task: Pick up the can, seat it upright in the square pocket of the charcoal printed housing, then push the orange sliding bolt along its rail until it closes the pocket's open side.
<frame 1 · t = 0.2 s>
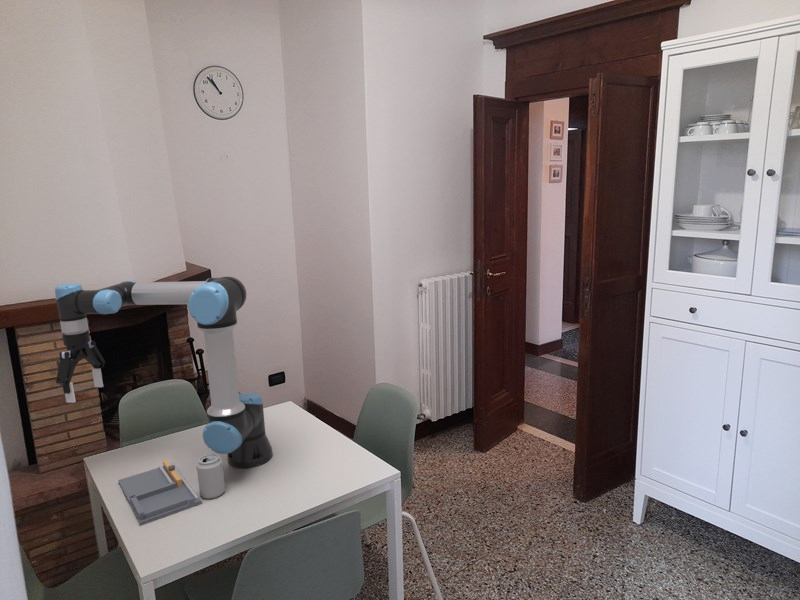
hand: (85, 394, 187), 28 cm above the table, fingers open, 13 cm apart
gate: (172, 471, 185), point 3 cm above the table, slide at 11.0 cm
can: (213, 494, 176), on the table
housing: (162, 504, 171), on the table
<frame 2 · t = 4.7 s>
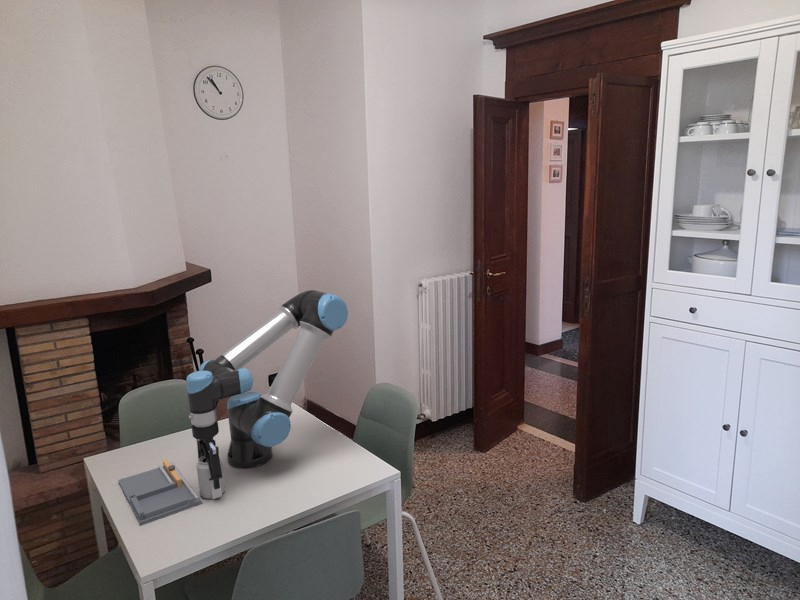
hand: (212, 491, 176), 1 cm above the table, fingers closed on can, 7 cm apart
can: (213, 494, 176), on the table, touching gripper
everything else where it was.
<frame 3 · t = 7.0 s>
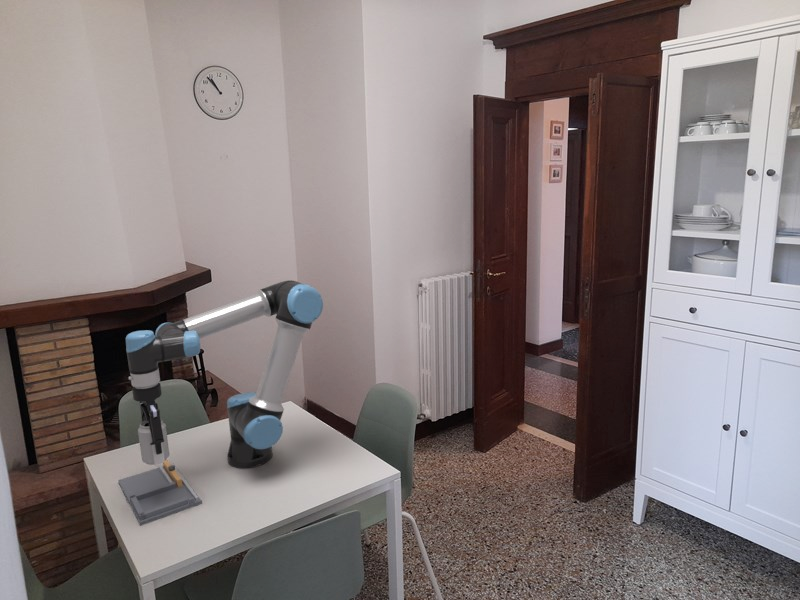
hand: (156, 458, 168), 15 cm above the table, fingers closed on can, 7 cm apart
can: (156, 460, 168), point 14 cm above the table, touching gripper
everything else where it was.
when the fingers open (4 cm above the table, at t = 9.4 s): can drops 2 cm, resting on housing.
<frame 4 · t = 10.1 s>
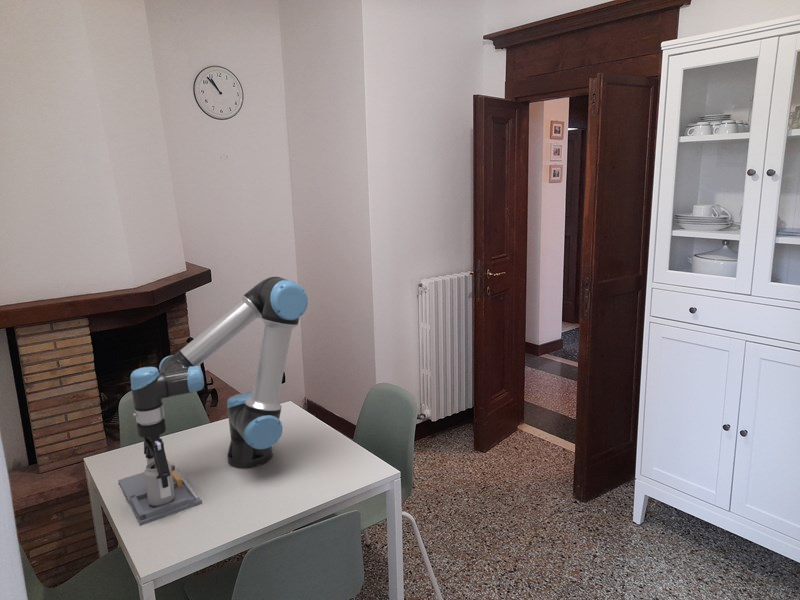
hand: (159, 487, 170), 6 cm above the table, fingers open, 13 cm apart
can: (162, 501, 171), point 1 cm above the table, touching housing
everything else where it was.
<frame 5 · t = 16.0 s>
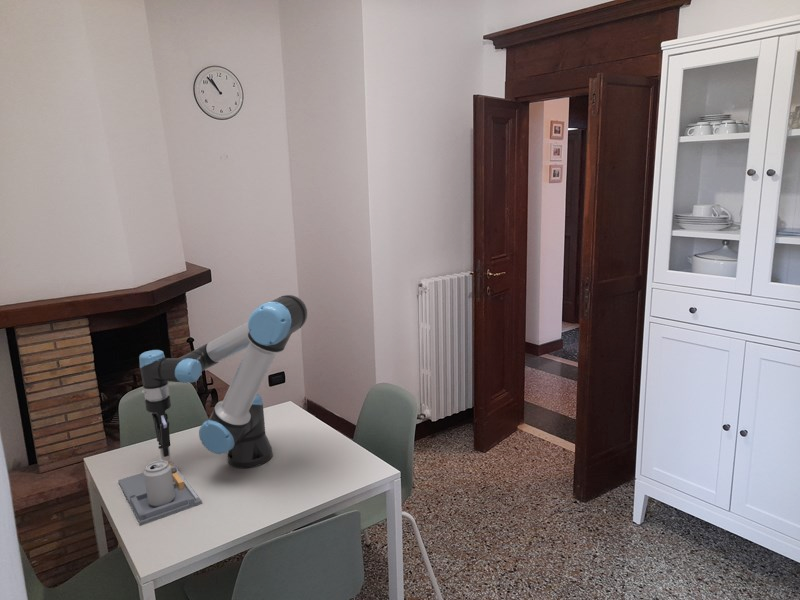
hand: (166, 463, 191), 3 cm above the table, fingers closed
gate: (173, 473, 183), point 3 cm above the table, slide at 9.0 cm, touching gripper
everything else where it was.
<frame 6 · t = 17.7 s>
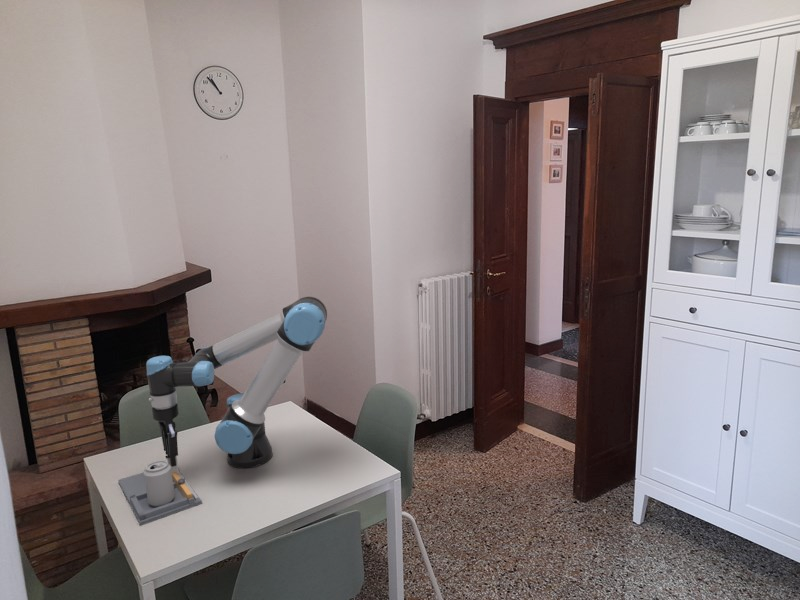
hand: (173, 473, 183), 3 cm above the table, fingers closed
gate: (181, 485, 176), point 3 cm above the table, slide at 0.0 cm, touching gripper
everything else where it was.
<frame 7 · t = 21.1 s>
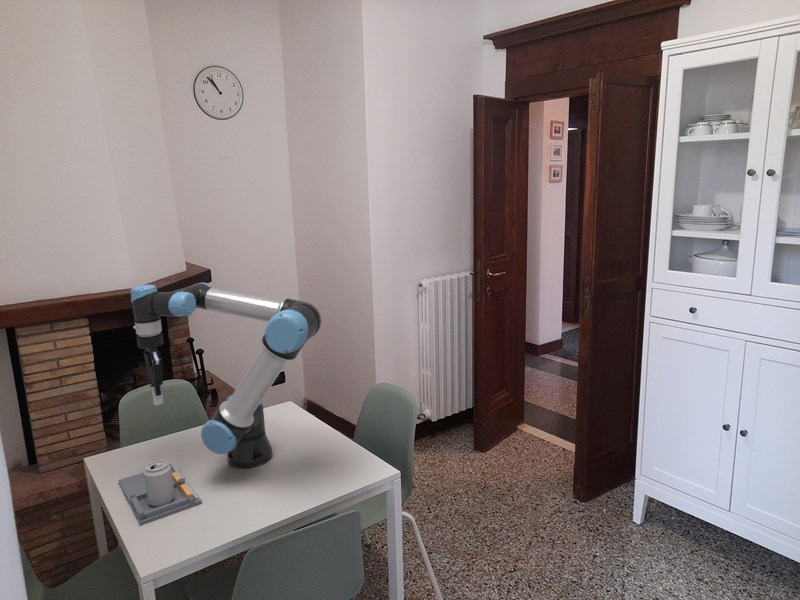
hand: (158, 403, 185), 24 cm above the table, fingers closed
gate: (181, 485, 176), point 3 cm above the table, slide at 0.0 cm
everything else where it was.
at the end: can 0.0 cm off-centre on the housing, point 0.8 cm above the housing's base; can tilted 0°; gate slide at 0.0 cm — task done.
